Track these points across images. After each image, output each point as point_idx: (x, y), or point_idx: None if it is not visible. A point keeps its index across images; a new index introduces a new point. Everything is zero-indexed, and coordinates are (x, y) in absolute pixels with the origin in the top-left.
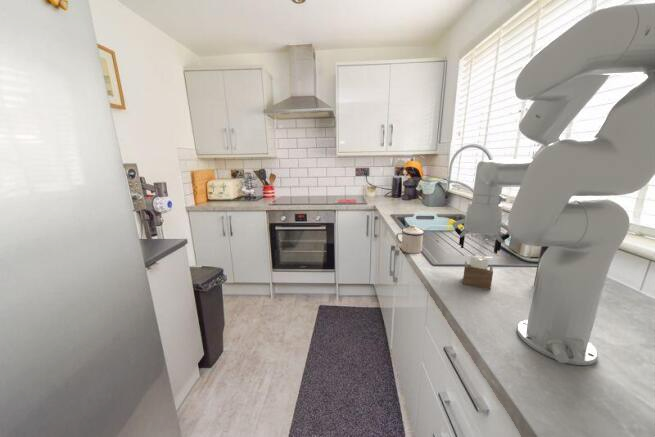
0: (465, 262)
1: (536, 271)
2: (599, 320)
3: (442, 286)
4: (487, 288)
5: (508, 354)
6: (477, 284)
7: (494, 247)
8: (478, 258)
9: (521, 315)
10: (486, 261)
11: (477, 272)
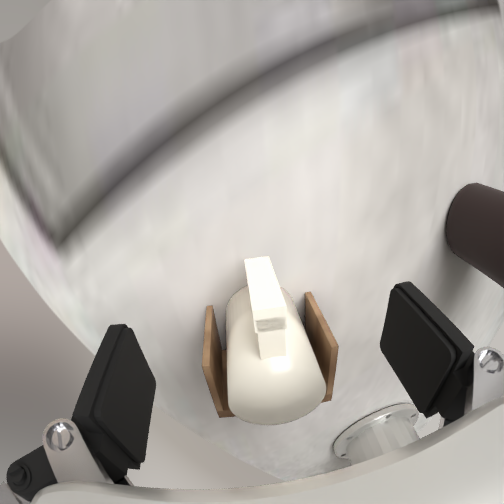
0: (207, 380)
1: (486, 233)
2: (478, 324)
3: (170, 396)
4: None
5: (311, 469)
6: None
7: (404, 327)
8: (274, 397)
9: (358, 405)
10: (313, 407)
11: None
